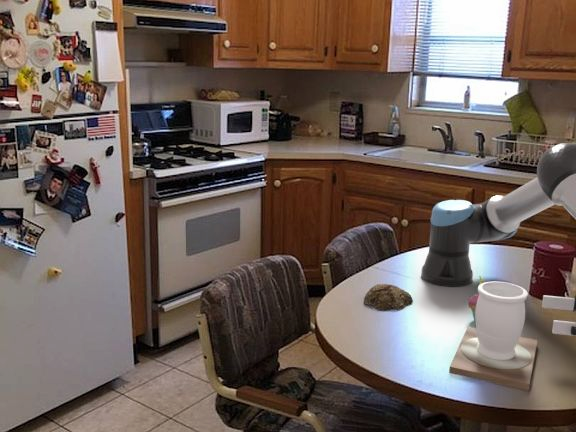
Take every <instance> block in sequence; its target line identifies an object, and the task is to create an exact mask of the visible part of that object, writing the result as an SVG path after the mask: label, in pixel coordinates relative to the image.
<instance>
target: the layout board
mask: <svg viewBox="0 0 576 432" xmlns="http://www.w3.org/2000/svg"><path fill="white" fill-rule="evenodd" d="M478 343H479V341H478V338H477V334H476V327H471V326H467V327H466V329H465V332H464V334H463V336H462V338H461V341H460V343H459V345H458V347H457V349H456V351H455V354H454V355H453V358H452V359H451V363H450V365H449V370H448V373H449V374H453V375H458V376H462V377H467V378H471V379H474V380H475V379H476V380H479V381H484V382H488V383H493V384H498V385H501V386H506V387H511V388H516V389H520V390H523V391H529V389H530V385H531V384H530V383H531V380H532V373H533V370H534V369H533V368H534V363H535V358H536V351H537V348H538V347H537V346H538V339H534V338H528V337H523V336H520V339H519V341H518V343H517V345H516V347H515V348H514V349H515V352H516V355H515V356H514V357H513V358H511V359H508V360H495V359H491V358H488V357H485V356H483V355H482V354H480V353H479V352H478V350H477V345H478Z"/></svg>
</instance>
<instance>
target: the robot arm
mask: <svg viewBox="0 0 576 432" xmlns="http://www.w3.org/2000/svg"><path fill="white" fill-rule="evenodd" d="M554 205H555V206H559V207H560V206H561V207H562V206H563V208H564V209H565V210H566V211H567V212H568V214H570V215H571V216H572V217H573V218H574V219H575V220H576V142H563V143H558V144H555V145H553V146H551V147H549V148H548V149H547V150H546V151H544V152H543V154H542V155H541V156H540V158H539V161H538V162H537V168H536V177H535V178H534V179H532V180H530V181H528V182H526V183H524V185H522V186H520V187H518V188H516V189H514V190H512V191H511V192H509V193H507V194H506V195H501V194H499V195H495V196H492V197H491V198H489V199H488V200H486V201H484V202H481V203H474V204H472V202H470V201H468V200H464V199H456V200H455V199H449V200H448V199H447V200H443V201H441V202H437V203H436V204H435V205H434V206H433V208H432V210H431V217H430V232H429V233H430V234H429V245H428V254H427V255H426V258H425V260H424V261H425V262H424V264H423V265H422V267H421V278H422V279H423V280H424V281H425V282H428V283H430V284H434V285H437V286H443V287H462V286H466V285H469V284H471V283H472V282H473V278H474V272H473V270H472V265H471V260H470V257H469V255H470V254H469V253H470V246H471V245H470V244H477V243H483V242H484V243H485V242H494V241H496V242H498V241H504V240H506V239H509V238H512V237H513V236H514V235H515V234H516V233H517V231H518V228H519V227H520V225H521V222H523V221H525V220H527V219H529V218H531V217H532V216H535V215H537V214H539V213H540V212H542V211H544V210H547V209H548V208H551V207H552V206H554ZM541 307H542V308H544V309H553V310H554V309H555V310H562V311H564V310H565V311H572V312H573V313H574V312H576V294H575V297H567V296H556V295H555V296H554V295H546V294H545V295H542V303H541ZM551 332H552V334H554V335H563V336H574V337H576V321H566V320H557V319H554V320H553V321H552V331H551Z"/></svg>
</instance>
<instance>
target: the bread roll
mask: <svg viewBox="0 0 576 432" xmlns="http://www.w3.org/2000/svg"><path fill="white" fill-rule="evenodd" d="M363 302H364V304H365V305H369V306H372V307H374V308H375V309H376V310H377V311H383V312H385V311H398V310H399V311H400V310H402V309H406V307H408V306H411V305H412V304H413V302H414V300H413V297H412V295H411V294H410V293H409V292H408V291H406V290H405V289H403V288H400V287H398V286H396V285H393V284H389V283H378V284H375V285H374V286H372V287H371V288H369V290H368V291H367V292H366V293H365V296H364V298H363Z"/></svg>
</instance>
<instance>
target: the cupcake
mask: <svg viewBox="0 0 576 432" xmlns="http://www.w3.org/2000/svg"><path fill="white" fill-rule="evenodd" d="M481 283H483V278H482V277H481V275H479V285H480V284H481ZM479 295H480V294H479V293H477V294H474V295H471V296H470V298H469V299H468V301H467V304H468V308H470V310H471V312H472V317H473V321H474V322H475V323H476V321H475V311H476V304H477V300H478V297H479Z"/></svg>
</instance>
